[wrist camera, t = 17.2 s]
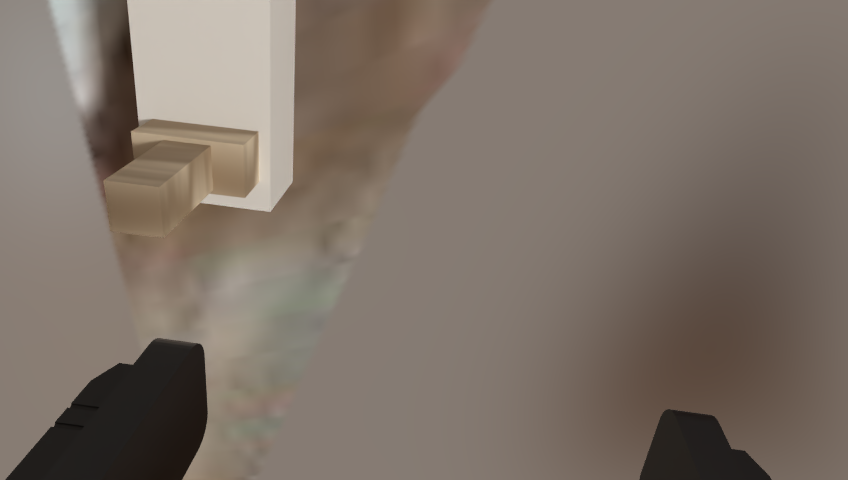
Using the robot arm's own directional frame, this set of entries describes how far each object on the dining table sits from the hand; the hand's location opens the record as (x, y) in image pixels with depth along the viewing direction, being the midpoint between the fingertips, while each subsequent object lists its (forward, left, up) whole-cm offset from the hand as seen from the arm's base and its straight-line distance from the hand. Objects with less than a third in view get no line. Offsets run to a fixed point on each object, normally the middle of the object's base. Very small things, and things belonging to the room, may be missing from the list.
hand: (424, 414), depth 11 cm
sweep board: (-1, -14, -30) cm, 33 cm away
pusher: (+5, -14, -25) cm, 29 cm away
